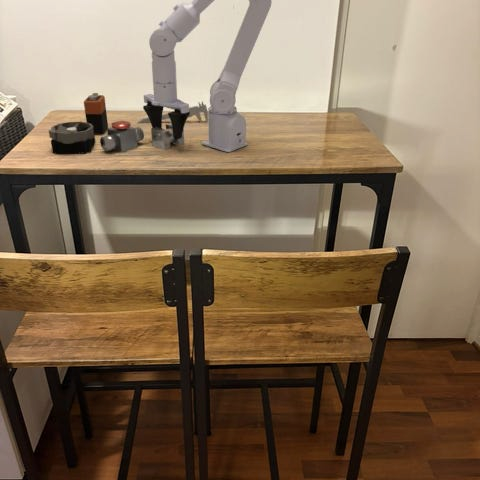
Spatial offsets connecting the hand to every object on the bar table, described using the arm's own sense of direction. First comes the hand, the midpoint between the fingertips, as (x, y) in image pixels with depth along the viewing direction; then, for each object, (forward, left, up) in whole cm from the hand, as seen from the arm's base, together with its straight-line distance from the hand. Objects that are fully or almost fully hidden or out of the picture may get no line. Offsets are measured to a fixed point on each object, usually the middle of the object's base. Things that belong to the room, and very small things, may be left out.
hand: (167, 135), depth 126 cm
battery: (+22, +5, -3) cm, 23 cm away
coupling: (0, 0, -3) cm, 3 cm away
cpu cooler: (+15, +18, -3) cm, 24 cm away
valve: (+6, +9, -2) cm, 12 cm away
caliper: (+13, -15, -3) cm, 20 cm away
